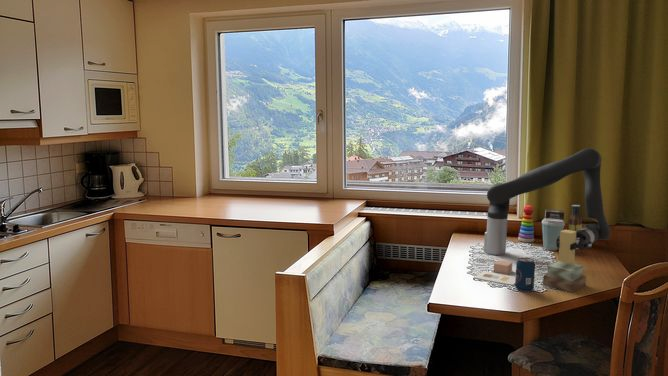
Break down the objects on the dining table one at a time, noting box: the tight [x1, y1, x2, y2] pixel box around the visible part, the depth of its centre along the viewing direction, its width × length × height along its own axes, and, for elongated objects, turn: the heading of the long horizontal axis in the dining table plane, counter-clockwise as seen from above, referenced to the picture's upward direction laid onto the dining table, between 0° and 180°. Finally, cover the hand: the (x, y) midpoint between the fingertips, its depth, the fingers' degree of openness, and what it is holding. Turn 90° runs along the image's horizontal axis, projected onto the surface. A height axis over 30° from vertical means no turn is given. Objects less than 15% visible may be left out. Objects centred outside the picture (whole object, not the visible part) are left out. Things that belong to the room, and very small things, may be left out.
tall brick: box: [557, 229, 576, 264], centre depth 227 cm, size 4×4×12 cm
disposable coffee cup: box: [541, 218, 566, 251], centre depth 282 cm, size 11×11×15 cm
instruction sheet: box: [473, 270, 516, 286], centre depth 237 cm, size 16×11×1 cm
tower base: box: [542, 260, 587, 293], centre depth 229 cm, size 12×12×8 cm
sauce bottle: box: [568, 204, 583, 231], centre depth 292 cm, size 7×6×20 cm
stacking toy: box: [517, 204, 535, 243], centre depth 297 cm, size 8×8×19 cm
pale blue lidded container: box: [544, 208, 565, 222], centre depth 297 cm, size 9×6×16 cm
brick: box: [493, 259, 513, 275], centre depth 246 cm, size 6×6×4 cm
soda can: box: [514, 256, 536, 293], centre depth 223 cm, size 7×7×12 cm
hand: (564, 246), depth 225 cm, fingers closed on tall brick, 4 cm apart
